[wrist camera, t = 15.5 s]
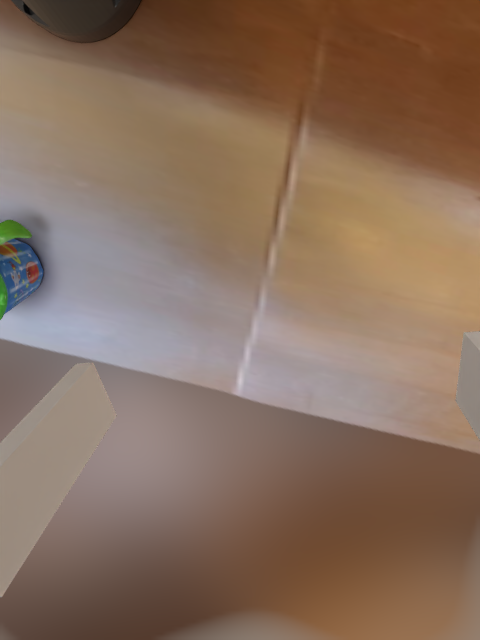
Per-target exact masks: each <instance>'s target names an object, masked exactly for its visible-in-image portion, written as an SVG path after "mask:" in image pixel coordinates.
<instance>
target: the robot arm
mask: <svg viewBox="0 0 480 640" xmlns="http://www.w3.org/2000/svg"><path fill="white" fill-rule="evenodd" d="M11 1H12V2H13V3H14V4H15V5H16V6H17V7H18V8H19V9H20V10H21V11H22V12H23V13H24V14H25V15H26V16H27V17H28V18H30V19H31V20H32V21H34V22H35V23H36V24H38V25H40V26H41V27H43V28H44V29H46V30H48V31H49V32H51V33H53V34H54V35H56V36H58V37H61V38H63V39H66V40H69V41H74V42H94V41H98V40H101V39H104V38H106V37H109V36H110V35H112V34H114V33H115V32H117V31H118V30H119V29H120V28H122V27H123V26H124V25H125V24H126V23H127V22H128V20H129V19H130V18H131V17H132V15H133V14H134V12H135V11H136V9H137V7H138V5H139V3H140V1H141V0H11ZM456 402H457V404H458V406H459V407H460V409H461V411H462V412H463V414H464V416H465V417H466V419H467V420H468V422H469V424H470V425H471V427H472V429H473V430H474V432H475V434H476V435H477V437H478V439H479V440H480V331H476V332H464V335H463V343H462V351H461V360H460V368H459V376H458V384H457V393H456ZM116 416H117V415H116V413H115V411H114V409H113V406H112V404H111V402H110V400H109V397H108V395H107V393H106V391H105V388H104V386H103V384H102V382H101V379H100V377H99V375H98V373H97V371H96V368H95V366H94V364H93V363H81V364H75V365H74V366H73V368H71V370H70V371H69V372H68V373H67V374H66V375H65V376H64V377H63V378H62V379H61V380H60V381H59V382H58V383H57V384H56V385H55V386H54V387H53V389H51V390H50V391H49V392H48V394H47V395H46V396H45V397H44V398H43V399H42V400H41V401H40V402H39V403H38V404H37V405H36V406H35V407H34V408H33V409H32V410H31V411H30V412H29V413H28V414H27V415H26V416H25V418H24V419H23V420H22V421H21V422H20V423H19V424H18V425H17V426H16V427H15V428H14V429H13V430H12V431H11V432H10V433H9V434H8V435H7V436H6V437H5V438H4V440H3V441H2V442H1V443H0V597H2V596H3V594H4V593H5V591H6V590H7V588H8V586H9V585H10V583H11V581H12V580H13V579H14V577H15V575H16V574H17V572H18V570H19V569H20V567H21V566H22V564H23V563H24V561H25V559H26V558H27V556H28V555H29V553H30V552H31V550H32V549H33V547H34V545H35V544H36V542H37V541H38V539H39V537H40V536H41V534H42V533H43V531H44V530H45V528H46V527H47V525H48V523H49V522H50V520H51V519H52V517H53V515H54V514H55V512H56V511H57V509H58V508H59V506H60V504H61V503H62V501H63V500H64V498H65V497H66V495H67V493H68V492H69V490H70V489H71V487H72V486H73V484H74V482H75V481H76V479H77V478H78V476H79V474H80V473H81V471H82V470H83V468H84V467H85V465H86V463H87V462H88V460H89V459H90V457H91V456H92V454H93V452H94V451H95V449H96V448H97V446H98V444H99V443H100V441H101V440H102V438H103V437H104V435H105V434H106V432H107V430H108V429H109V427H110V426H111V424H112V422H113V421H114V419H115V418H116Z"/></svg>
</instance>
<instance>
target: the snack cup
mask: <svg viewBox="0 0 480 640" xmlns="http://www.w3.org/2000/svg"><path fill="white" fill-rule="evenodd" d="M31 237H32V235H31V233H30V232H29V231H28V230H27V229H26V228H25V227H23V226H22V225H21V224H19V223H18V222H16V221H13V220H6V221H4V222H2V223H0V320H1V319H2V317H3V315H4V314H5V313H7V312H8V311H10V310H11V309H12V308H14V307H15V306H16V305H17V304H19V303H20V302H21V301H22V300H24V299H25V298H27V297H28V296H29V295H30V294H31V293H33V292H34V291H35V290H36V289H37V288H38V287H39V285H40V283H41V280H42V277H43V269H42V267H41V264H40V261H39V259H38V257H37V256H36V254H35V253H34V251H33V250H32V249H31V246H29V245H27V244H26V243H23V242H21V241H19V240H16V239H14V238H31Z"/></svg>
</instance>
